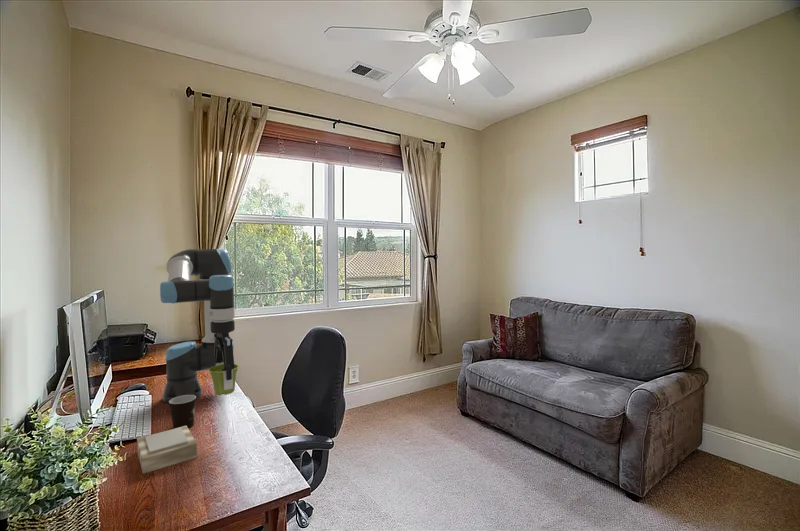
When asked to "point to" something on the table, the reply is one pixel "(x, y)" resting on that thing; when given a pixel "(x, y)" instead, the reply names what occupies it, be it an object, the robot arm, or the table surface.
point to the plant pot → (221, 379)
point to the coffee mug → (183, 410)
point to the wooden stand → (166, 448)
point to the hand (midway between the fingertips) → (224, 384)
